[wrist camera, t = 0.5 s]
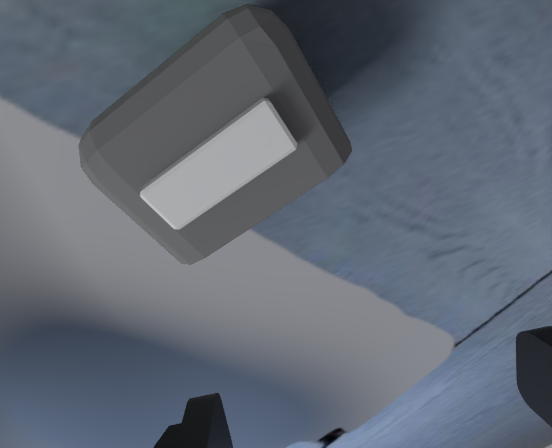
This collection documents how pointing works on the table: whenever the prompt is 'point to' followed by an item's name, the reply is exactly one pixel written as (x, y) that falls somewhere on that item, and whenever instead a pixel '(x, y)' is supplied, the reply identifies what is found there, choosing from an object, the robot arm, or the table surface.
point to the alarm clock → (216, 136)
